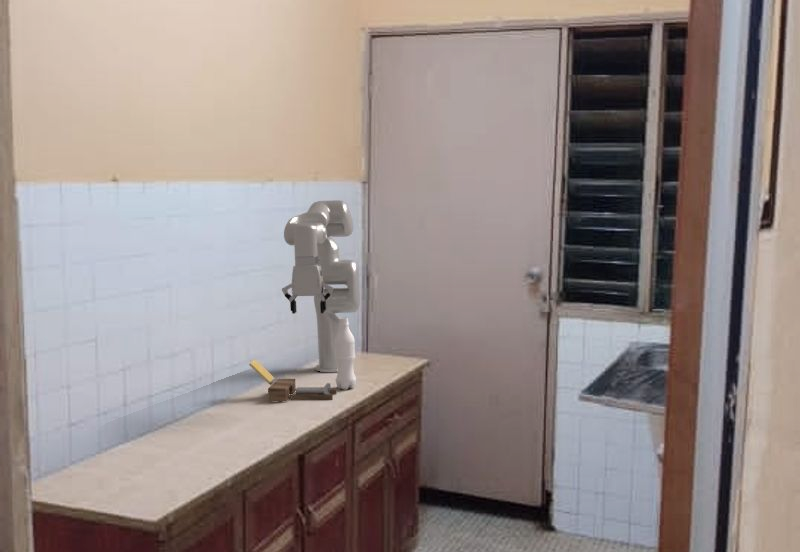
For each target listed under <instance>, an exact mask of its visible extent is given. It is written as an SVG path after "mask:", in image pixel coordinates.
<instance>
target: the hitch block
mask: <svg viewBox="0 0 800 552" xmlns="http://www.w3.org/2000/svg"><path fill="white" fill-rule="evenodd" d="M296 388H297V386H296V378H277V380H276V381H275V382H274V383H273V384H272V385H269V387H268V388H267V396H268V402H269V401H287V400H288V399H289V400H290V399H310V400H309V401H312V400H314V401H315V400H321V401H324V400H325V401H326V400H327V401H328V400H333V399H334V398H333V397H334V396H333V395H337V389H331V395H296V394H295V393H296V392H295V391H296ZM294 392H295V393H294ZM293 393H294V394H293ZM289 394H293V395H289ZM289 400H288V401H289ZM288 401H287V402H288Z"/></svg>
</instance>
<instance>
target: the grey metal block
mask: <svg viewBox="0 0 800 552" xmlns="http://www.w3.org/2000/svg"><path fill="white" fill-rule="evenodd" d="M331 390H332V389H331V383H330V382H329V383H326V384H325V385H324V387H321V386H319V387H315V386H313V387H307V386H306V387H298V386H296V392H295V395H332V394H331Z"/></svg>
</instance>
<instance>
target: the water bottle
mask: <svg viewBox="0 0 800 552" xmlns="http://www.w3.org/2000/svg"><path fill="white" fill-rule="evenodd" d="M339 321H340V322H339V323H340V324H339V325H340V327H339V330H338V333H337V335H336V337H335V341H334V343H335V358H336V361H337V365H338V372H337V375H336V379H335V383H336V387H337V388H338V390H341V389H342V390H344V391H346V390H347V391H348V389H349V388H350V389H354V388H355V386H356V384H357V377H356V374H355V371H354V362H355V359H356V349H355V348H356V346H355V342H356V340H355V337H354V335H353V333H352V332H351V330H350V327H349V325H350V322H349V318H348V317H347V316H345V317H343V316H342V317H339Z"/></svg>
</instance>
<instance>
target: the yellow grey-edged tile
mask: <svg viewBox="0 0 800 552" xmlns="http://www.w3.org/2000/svg"><path fill="white" fill-rule="evenodd" d="M248 365H249V366H250V368H252V369H253V371H255V372H256V373H257V374H258V375H259V376H260V377H261V378H262V379H263V380H264V381H265V382H267V384H269V386H271V385H272V384H273V383H274V382H276V381H277V380H278V378H277V377H274V376H273V375H272V374H271V373H270V372H269V371H268V370H267V369H266V368H265V367H264V366H263V365H262V364H261V363H260V362H259V361H257V360H256V359H254V360H252V361H251V362H249V364H248Z"/></svg>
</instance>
